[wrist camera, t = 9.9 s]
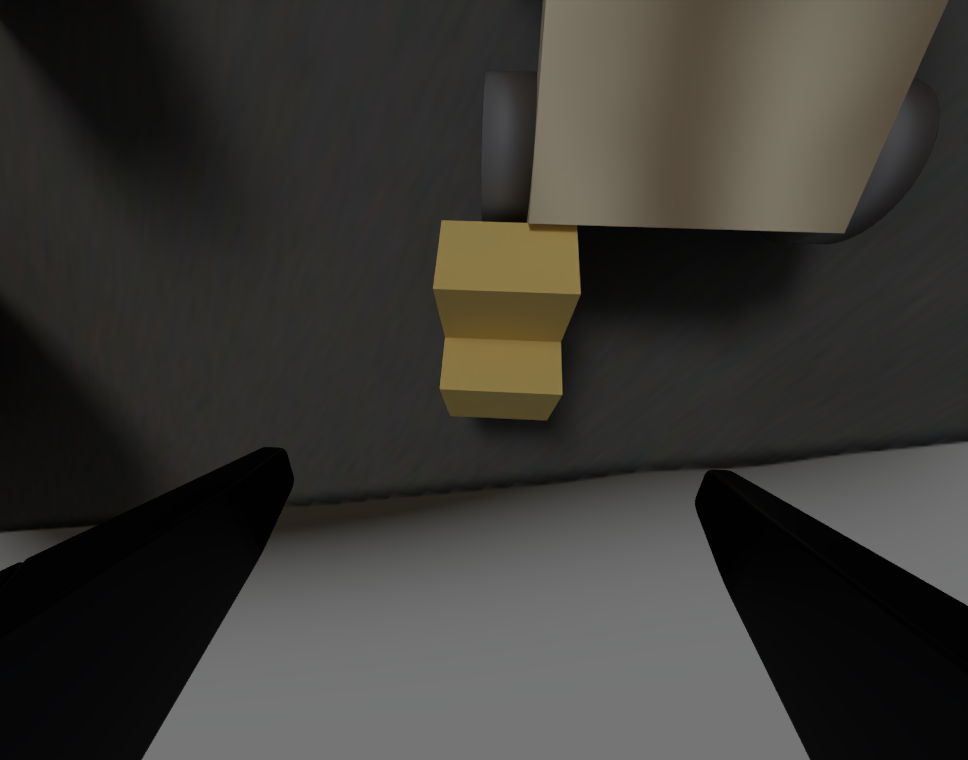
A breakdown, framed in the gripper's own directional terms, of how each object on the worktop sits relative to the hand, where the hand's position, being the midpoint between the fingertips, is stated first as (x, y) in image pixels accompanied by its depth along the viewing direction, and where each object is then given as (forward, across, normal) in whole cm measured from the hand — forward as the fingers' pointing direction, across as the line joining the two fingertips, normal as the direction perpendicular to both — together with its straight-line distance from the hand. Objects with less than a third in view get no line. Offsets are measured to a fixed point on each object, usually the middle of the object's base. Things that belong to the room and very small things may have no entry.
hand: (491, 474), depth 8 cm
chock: (+10, 0, -2) cm, 10 cm away
